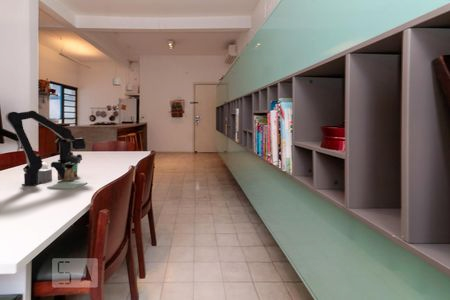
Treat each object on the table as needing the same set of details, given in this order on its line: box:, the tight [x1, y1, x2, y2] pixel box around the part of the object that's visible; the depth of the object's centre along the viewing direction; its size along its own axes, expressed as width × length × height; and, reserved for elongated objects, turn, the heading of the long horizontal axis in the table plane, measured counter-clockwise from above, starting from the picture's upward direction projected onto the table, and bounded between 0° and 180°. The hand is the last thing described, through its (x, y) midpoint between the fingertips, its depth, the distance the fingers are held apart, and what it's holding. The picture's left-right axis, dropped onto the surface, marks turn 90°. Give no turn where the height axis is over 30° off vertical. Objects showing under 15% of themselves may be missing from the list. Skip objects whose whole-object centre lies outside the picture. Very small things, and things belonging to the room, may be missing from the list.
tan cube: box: [57, 168, 75, 182], centre depth 178 cm, size 6×6×6 cm
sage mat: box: [46, 181, 88, 190], centre depth 166 cm, size 14×14×1 cm
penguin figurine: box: [41, 161, 49, 169], centre depth 190 cm, size 6×8×12 cm
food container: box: [73, 163, 79, 178], centre depth 193 cm, size 12×6×10 cm, turn 179°
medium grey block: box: [38, 168, 53, 182], centre depth 179 cm, size 6×6×6 cm
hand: (65, 177), depth 178 cm, fingers closed on tan cube, 6 cm apart
